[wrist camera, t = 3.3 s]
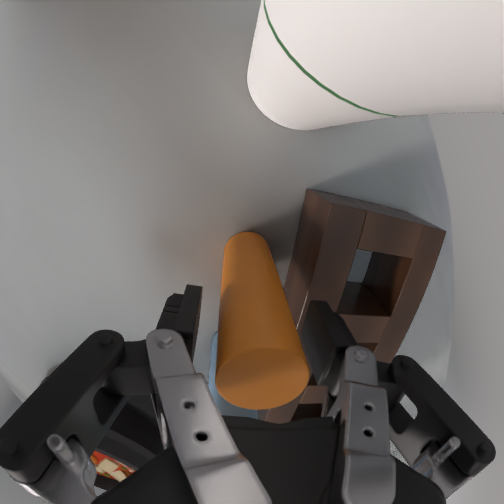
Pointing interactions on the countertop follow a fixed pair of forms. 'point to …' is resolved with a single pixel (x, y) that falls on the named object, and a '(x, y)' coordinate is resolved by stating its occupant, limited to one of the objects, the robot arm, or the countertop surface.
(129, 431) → the casserole
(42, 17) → the countertop surface
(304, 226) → the rack
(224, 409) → the blue tube
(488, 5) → the cylindrical container
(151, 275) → the countertop surface
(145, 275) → the countertop surface
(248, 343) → the amber tube
